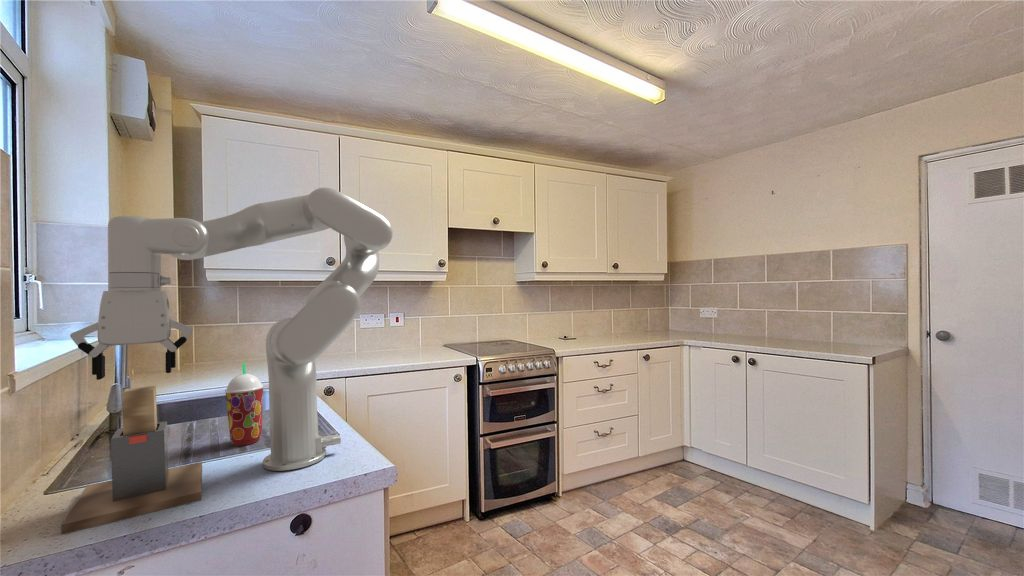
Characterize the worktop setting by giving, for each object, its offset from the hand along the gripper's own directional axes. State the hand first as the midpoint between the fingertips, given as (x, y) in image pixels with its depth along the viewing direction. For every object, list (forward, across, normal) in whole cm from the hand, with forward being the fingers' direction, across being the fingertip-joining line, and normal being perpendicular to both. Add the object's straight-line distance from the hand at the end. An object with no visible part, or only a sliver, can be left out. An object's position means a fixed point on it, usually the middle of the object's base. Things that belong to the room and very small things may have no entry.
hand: (135, 375), depth 82 cm
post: (+21, -1, 0) cm, 21 cm away
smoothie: (+23, -19, -23) cm, 37 cm away
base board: (+23, -1, 0) cm, 23 cm away
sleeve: (+21, -1, 0) cm, 21 cm away
